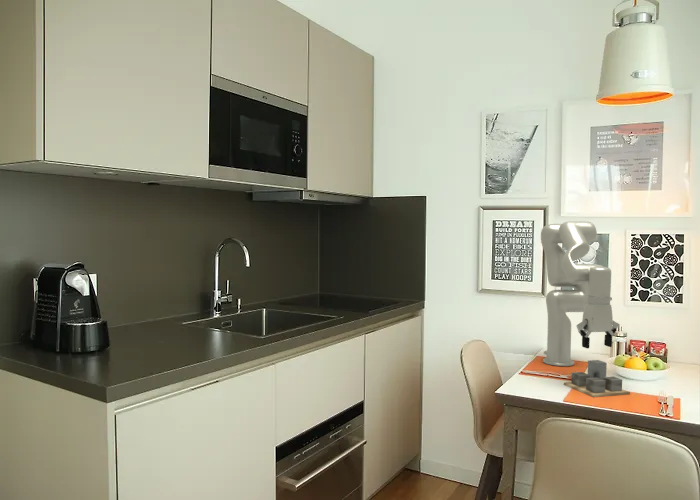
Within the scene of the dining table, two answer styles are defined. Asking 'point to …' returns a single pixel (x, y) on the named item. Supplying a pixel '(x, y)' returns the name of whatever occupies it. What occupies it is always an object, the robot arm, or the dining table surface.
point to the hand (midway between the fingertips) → (596, 346)
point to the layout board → (596, 385)
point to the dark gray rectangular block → (597, 369)
